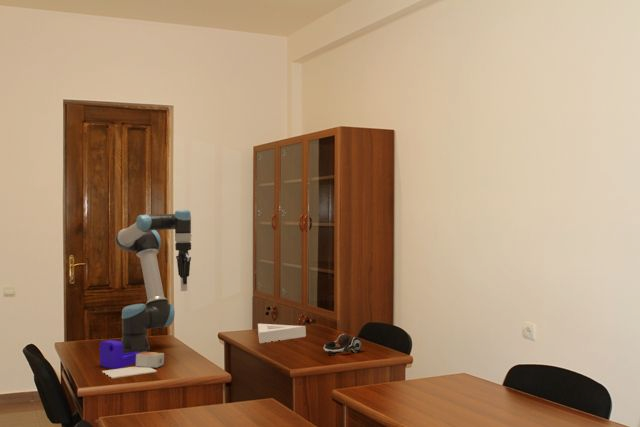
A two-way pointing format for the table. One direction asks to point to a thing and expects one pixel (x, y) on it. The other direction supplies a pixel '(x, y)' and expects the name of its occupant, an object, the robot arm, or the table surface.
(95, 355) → the table surface
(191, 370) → the table surface
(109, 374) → the mat
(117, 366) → the bracket
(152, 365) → the small box
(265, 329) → the triangular ruler
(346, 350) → the headset
